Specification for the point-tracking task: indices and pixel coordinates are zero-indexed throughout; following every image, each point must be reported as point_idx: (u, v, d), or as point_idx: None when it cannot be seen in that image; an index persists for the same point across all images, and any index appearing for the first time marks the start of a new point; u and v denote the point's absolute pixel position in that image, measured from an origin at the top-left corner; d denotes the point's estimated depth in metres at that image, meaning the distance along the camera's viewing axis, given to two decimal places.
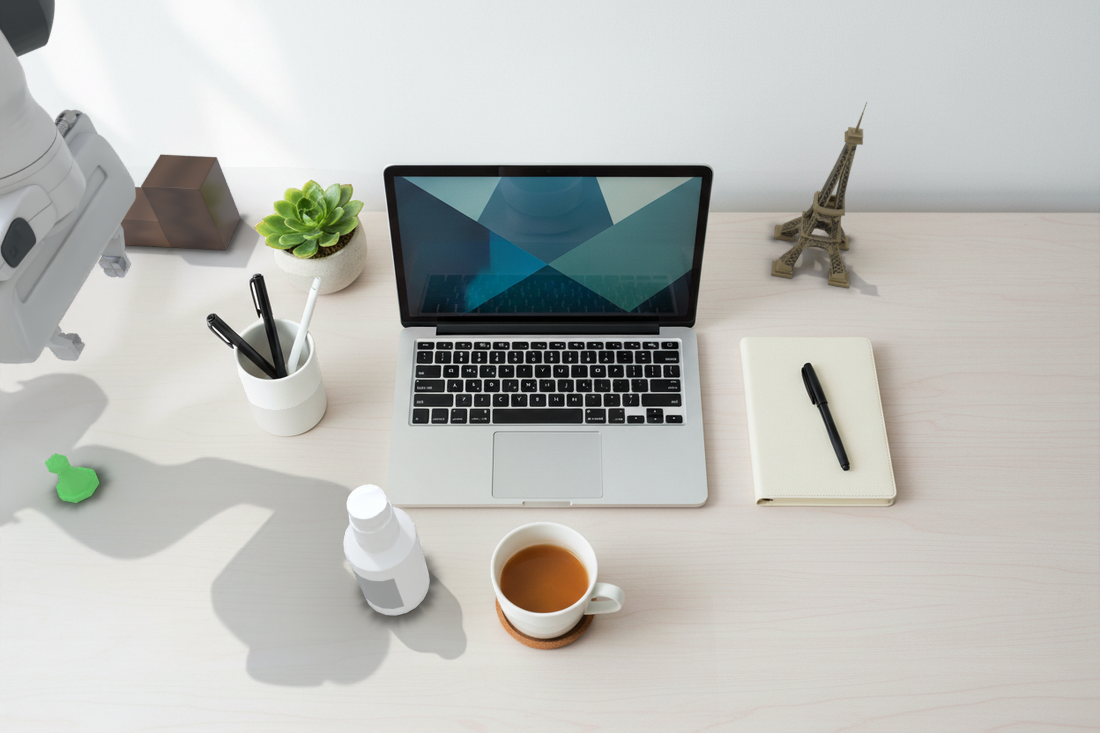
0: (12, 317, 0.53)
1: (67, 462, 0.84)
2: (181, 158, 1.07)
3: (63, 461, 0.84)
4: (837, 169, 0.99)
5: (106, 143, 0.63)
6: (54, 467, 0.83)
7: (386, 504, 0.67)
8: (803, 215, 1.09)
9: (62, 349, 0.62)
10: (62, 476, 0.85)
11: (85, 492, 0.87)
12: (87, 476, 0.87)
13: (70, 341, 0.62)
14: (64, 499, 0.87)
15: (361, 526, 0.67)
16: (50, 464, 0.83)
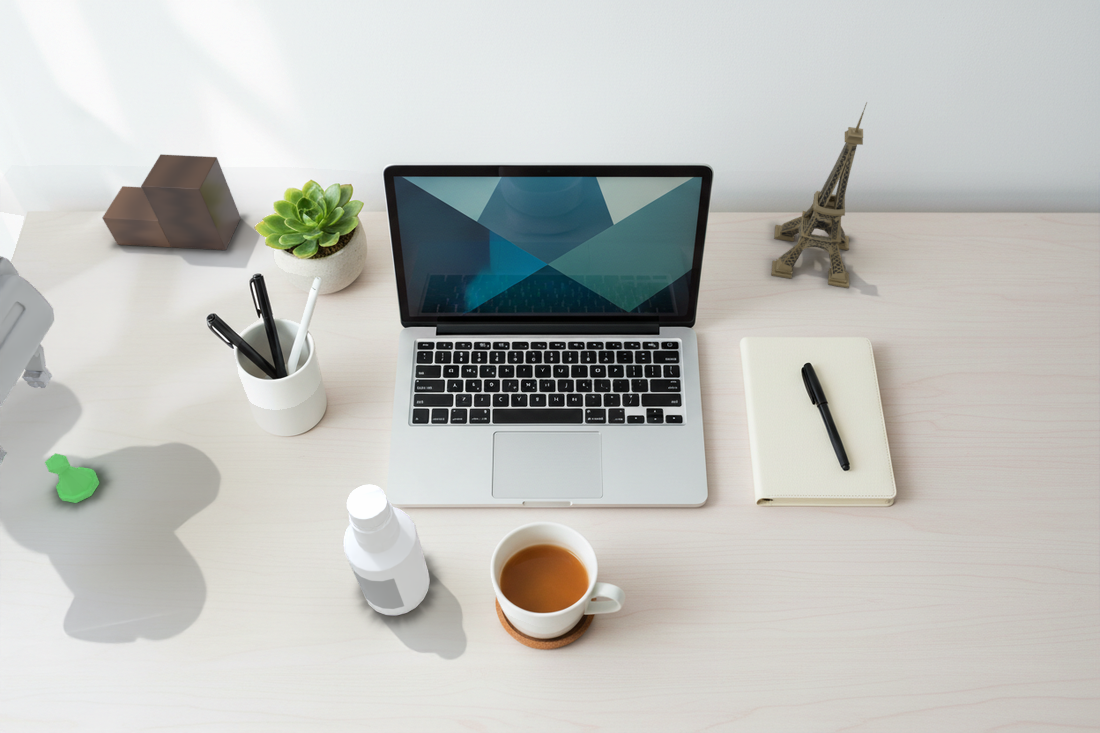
0: None
1: (67, 462, 0.84)
2: (181, 158, 1.07)
3: (63, 461, 0.84)
4: (837, 169, 0.99)
5: (24, 281, 0.75)
6: (54, 467, 0.83)
7: (386, 504, 0.67)
8: (803, 215, 1.09)
9: None
10: (62, 476, 0.85)
11: (85, 492, 0.87)
12: (87, 476, 0.87)
13: None
14: (64, 499, 0.87)
15: (361, 526, 0.67)
16: (50, 464, 0.83)
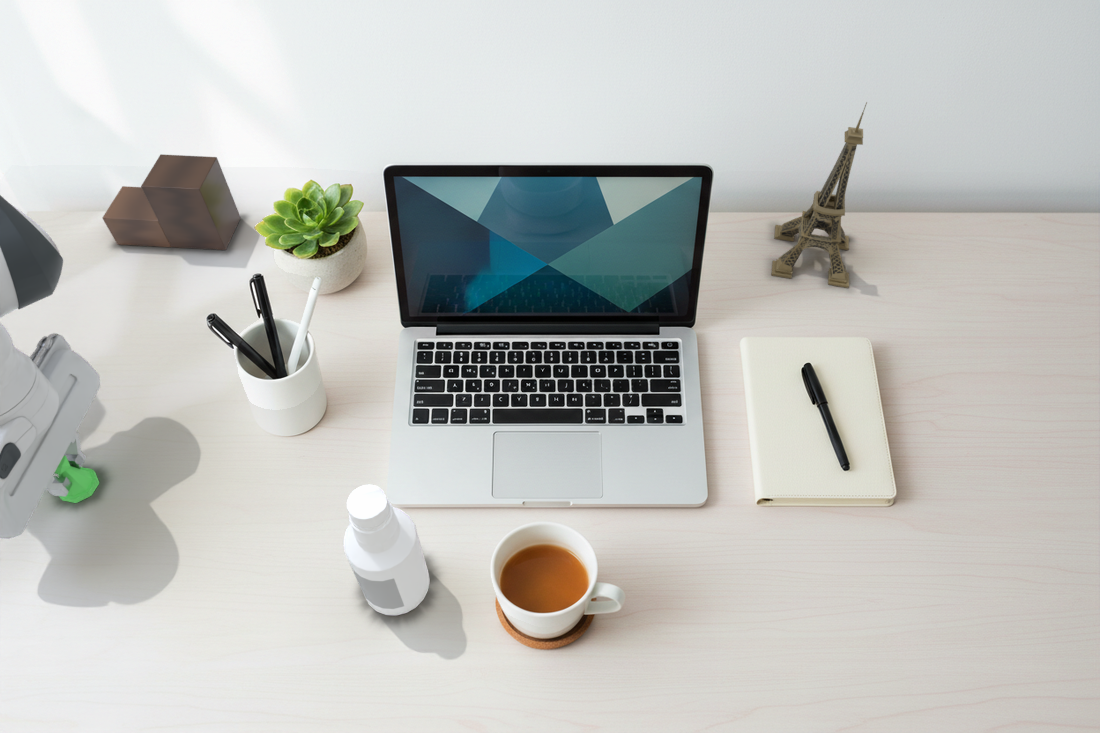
0: (3, 511, 0.73)
1: (67, 462, 0.84)
2: (181, 158, 1.07)
3: (63, 461, 0.84)
4: (837, 169, 0.99)
5: (76, 355, 0.84)
6: None
7: (386, 504, 0.67)
8: (803, 215, 1.09)
9: (55, 489, 0.84)
10: (62, 476, 0.85)
11: (85, 492, 0.87)
12: (87, 476, 0.87)
13: (61, 484, 0.84)
14: (64, 499, 0.87)
15: (361, 526, 0.67)
16: None
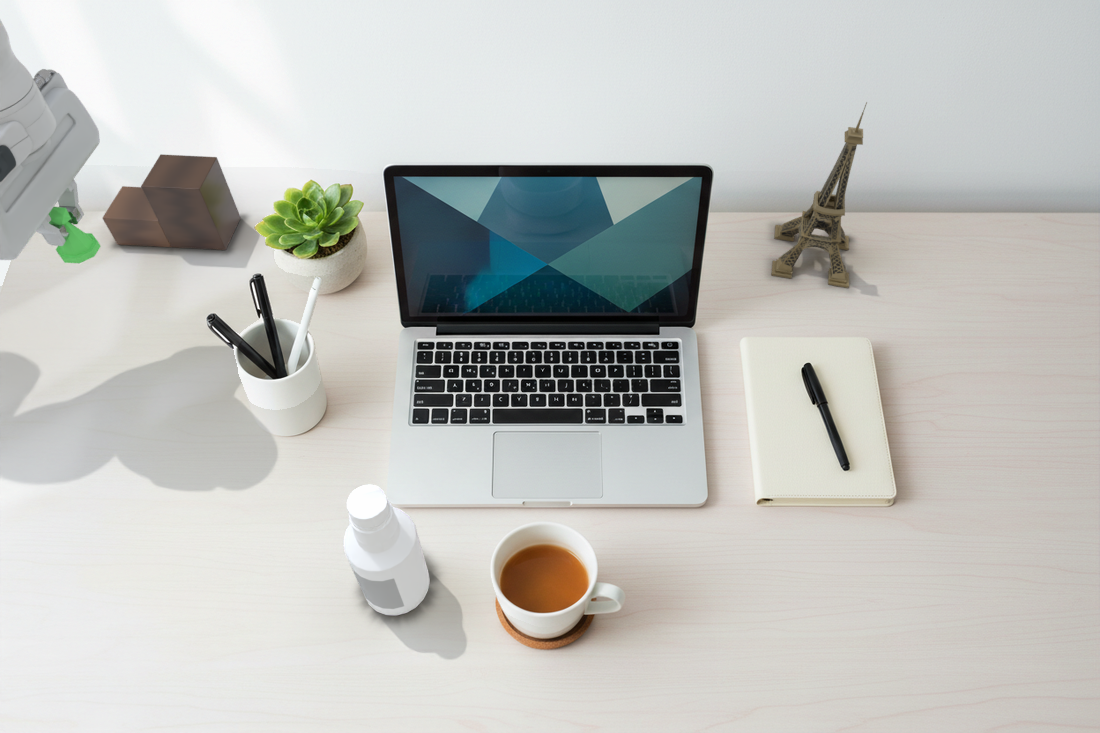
0: None
1: (68, 214, 0.82)
2: (181, 158, 1.07)
3: (63, 211, 0.82)
4: (837, 169, 0.99)
5: (75, 96, 0.81)
6: (55, 217, 0.81)
7: (386, 504, 0.67)
8: (803, 215, 1.09)
9: (51, 235, 0.81)
10: None
11: (88, 251, 0.85)
12: (88, 237, 0.85)
13: (58, 229, 0.81)
14: (66, 260, 0.85)
15: (361, 526, 0.67)
16: (50, 214, 0.81)
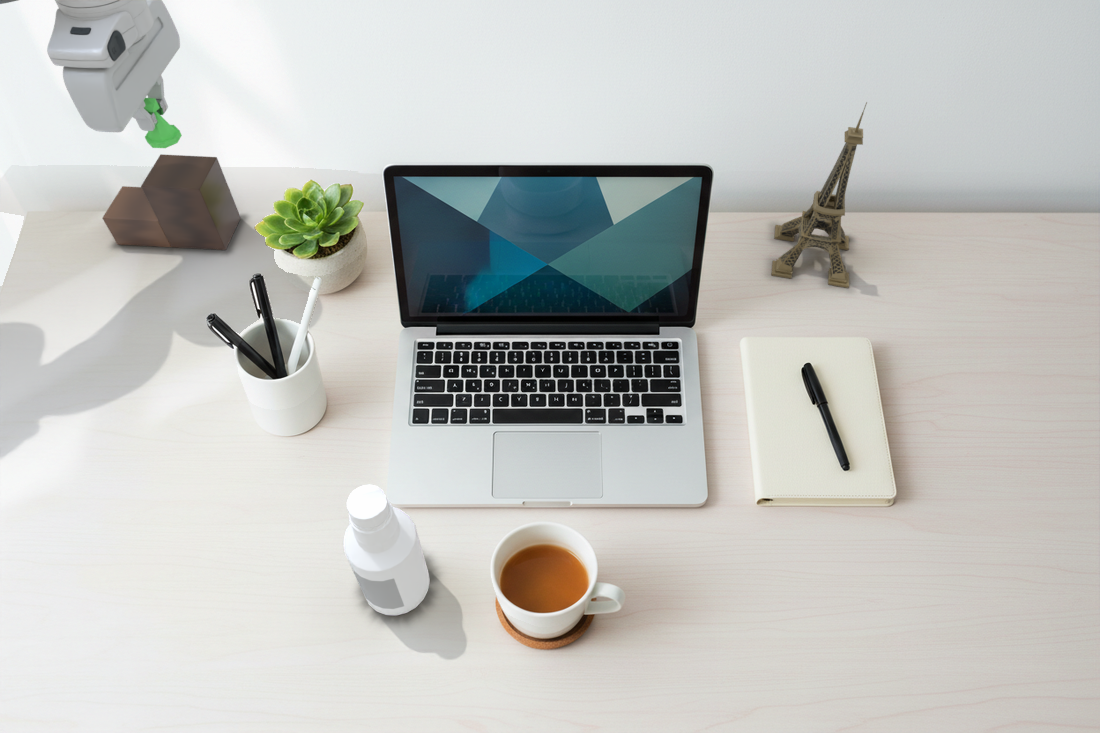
0: (111, 95, 0.86)
1: (157, 104, 0.98)
2: (181, 158, 1.07)
3: (154, 101, 0.97)
4: (837, 169, 0.99)
5: (162, 3, 0.96)
6: (147, 105, 0.97)
7: (386, 504, 0.67)
8: (803, 215, 1.09)
9: (144, 121, 0.97)
10: None
11: (172, 138, 1.00)
12: (171, 126, 1.01)
13: (150, 115, 0.96)
14: (154, 145, 1.00)
15: (361, 526, 0.67)
16: None
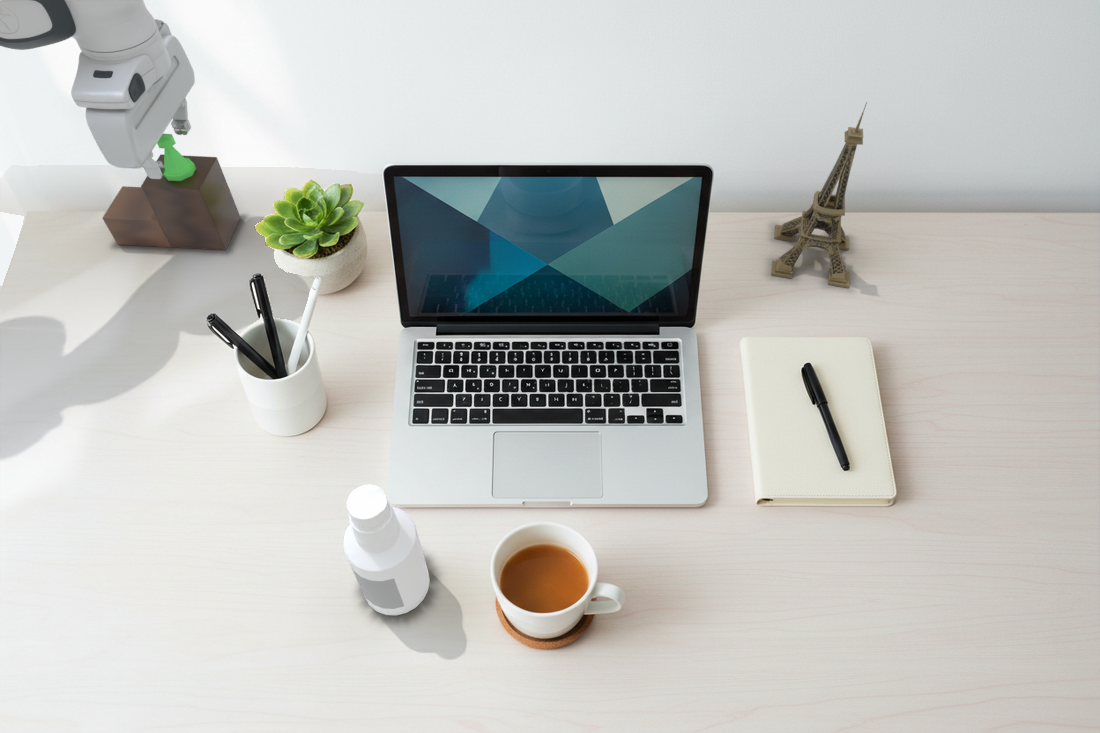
0: (131, 134, 0.90)
1: (173, 139, 1.02)
2: None
3: (170, 136, 1.02)
4: (837, 169, 0.99)
5: (178, 42, 1.01)
6: (164, 140, 1.01)
7: (386, 504, 0.67)
8: (803, 215, 1.09)
9: (152, 169, 0.99)
10: (169, 154, 1.03)
11: (187, 171, 1.04)
12: (186, 160, 1.05)
13: (157, 164, 0.99)
14: (170, 178, 1.04)
15: (361, 526, 0.67)
16: (160, 138, 1.01)
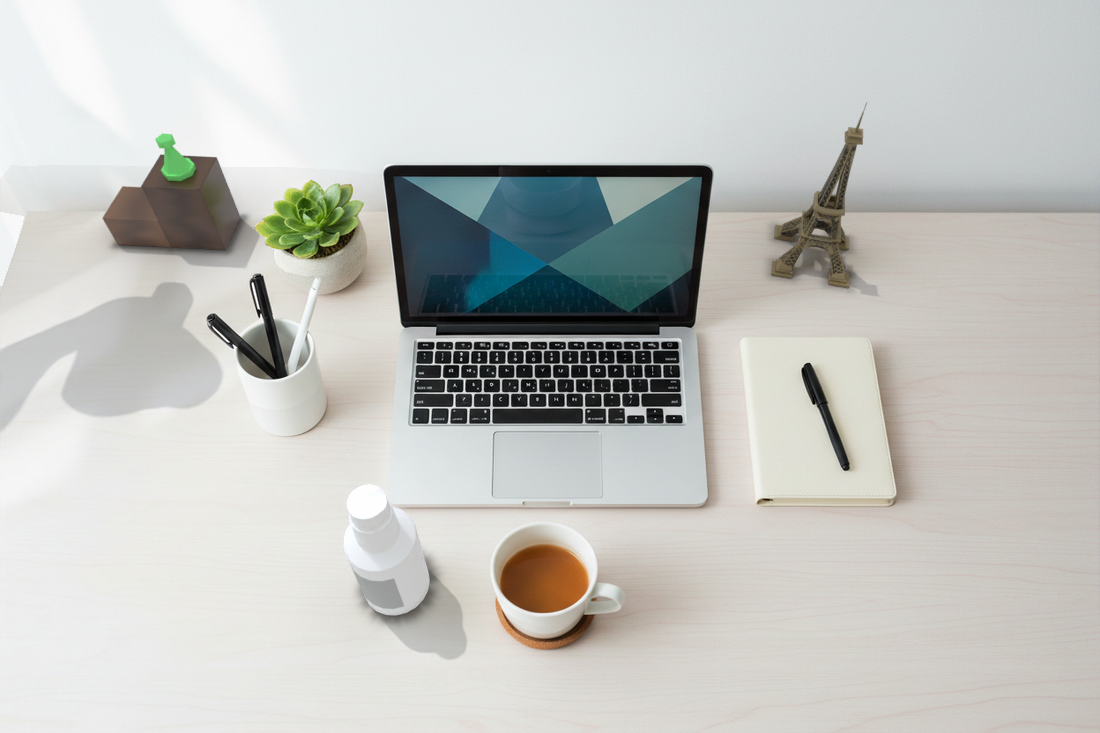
0: None
1: (173, 139, 1.02)
2: None
3: (170, 137, 1.02)
4: (837, 169, 0.99)
5: None
6: (164, 140, 1.01)
7: (386, 504, 0.67)
8: (803, 215, 1.09)
9: None
10: (169, 154, 1.03)
11: (187, 171, 1.04)
12: (186, 160, 1.05)
13: None
14: (170, 178, 1.04)
15: (361, 526, 0.67)
16: (160, 138, 1.01)
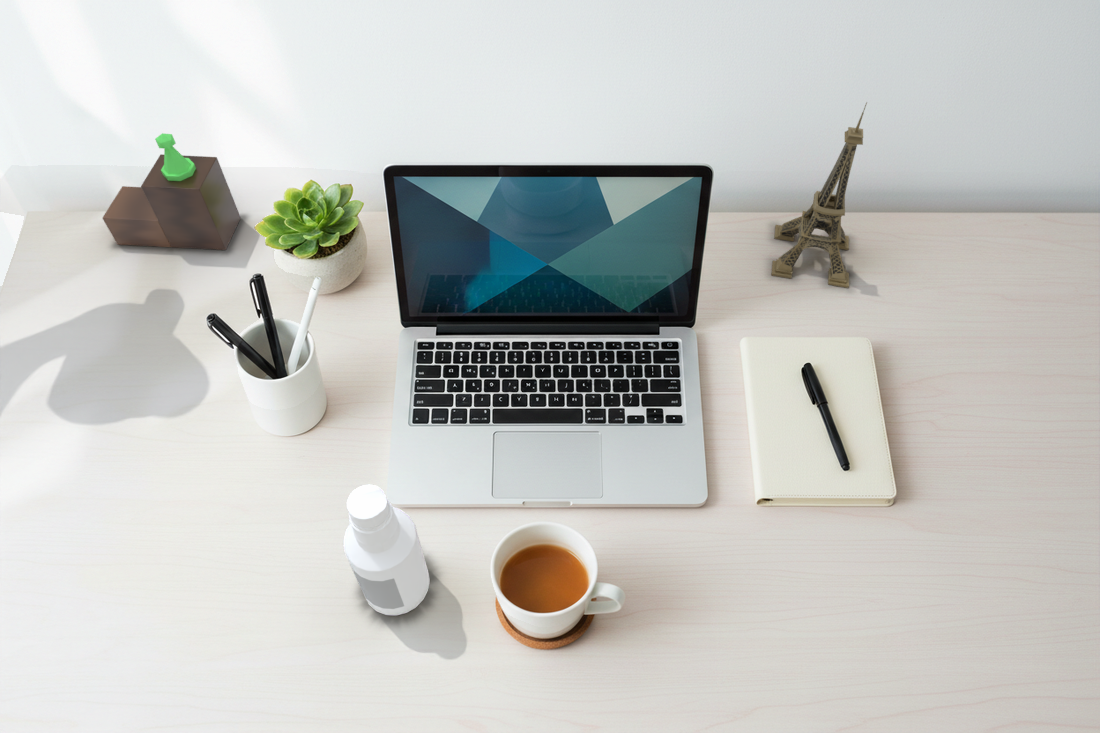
0: None
1: (173, 139, 1.02)
2: None
3: (170, 137, 1.02)
4: (837, 169, 0.99)
5: None
6: (164, 140, 1.01)
7: (386, 504, 0.67)
8: (803, 215, 1.09)
9: None
10: (169, 154, 1.03)
11: (187, 171, 1.04)
12: (186, 160, 1.05)
13: None
14: (170, 178, 1.04)
15: (361, 526, 0.67)
16: (160, 138, 1.01)
